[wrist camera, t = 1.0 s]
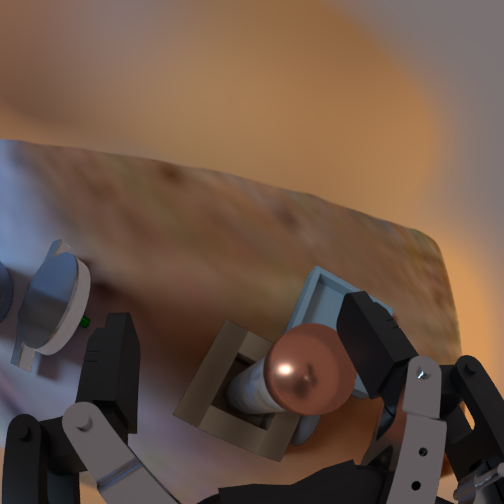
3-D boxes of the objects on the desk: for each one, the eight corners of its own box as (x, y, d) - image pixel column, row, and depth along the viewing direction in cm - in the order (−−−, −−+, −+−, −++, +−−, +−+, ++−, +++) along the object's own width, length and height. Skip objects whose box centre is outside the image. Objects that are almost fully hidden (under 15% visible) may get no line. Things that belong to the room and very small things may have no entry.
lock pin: (210, 404, 25) (254, 391, 12) (232, 362, 27) (292, 307, 15) (256, 426, 25) (340, 427, 12) (275, 383, 27) (366, 345, 15)
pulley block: (172, 414, 26) (173, 414, 21) (216, 336, 31) (226, 318, 27) (280, 462, 25) (304, 470, 20) (314, 384, 31) (341, 376, 26)
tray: (272, 358, 32) (280, 354, 30) (308, 274, 39) (316, 265, 37) (361, 398, 31) (373, 396, 29) (382, 315, 39) (393, 309, 37)
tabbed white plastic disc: (44, 246, 30) (63, 204, 23) (96, 274, 35) (131, 243, 28) (4, 360, 22) (3, 359, 15) (65, 386, 26) (90, 394, 19)
